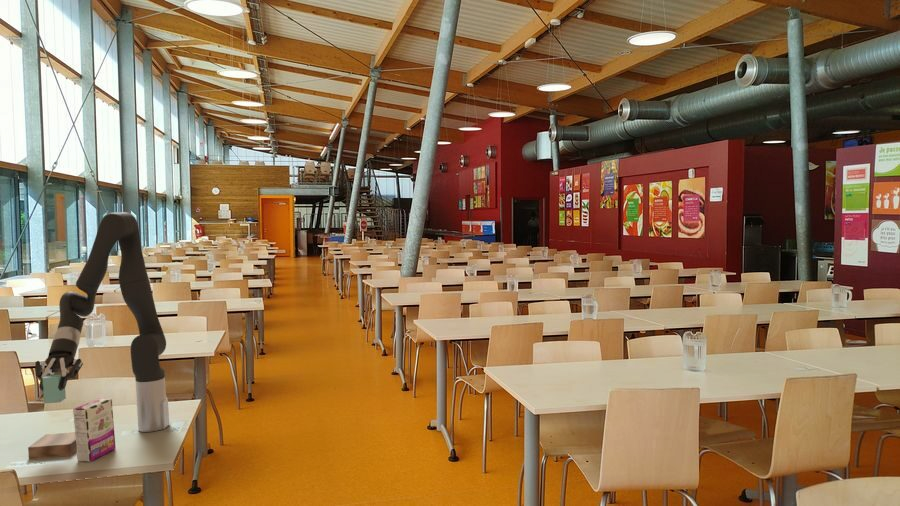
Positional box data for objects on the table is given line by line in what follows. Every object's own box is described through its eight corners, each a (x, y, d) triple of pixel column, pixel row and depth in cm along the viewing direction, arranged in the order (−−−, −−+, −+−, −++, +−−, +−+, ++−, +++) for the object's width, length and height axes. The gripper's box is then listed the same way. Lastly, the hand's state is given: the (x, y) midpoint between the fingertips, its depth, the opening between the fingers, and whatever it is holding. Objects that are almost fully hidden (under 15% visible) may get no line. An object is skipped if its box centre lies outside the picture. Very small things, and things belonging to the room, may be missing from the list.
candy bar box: (102, 448, 210) (99, 397, 208) (116, 449, 209) (113, 398, 207) (75, 461, 199) (72, 408, 198) (90, 462, 198) (86, 408, 197)
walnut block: (86, 443, 216) (85, 431, 216) (71, 456, 204) (70, 444, 204) (46, 446, 214) (45, 434, 214) (29, 460, 202) (28, 447, 202)
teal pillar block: (65, 398, 211) (64, 373, 210) (59, 402, 206) (57, 377, 206) (50, 399, 210) (48, 374, 210) (44, 403, 206) (42, 378, 205)
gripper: (37, 338, 213) (21, 385, 202) (84, 336, 216) (72, 382, 204) (45, 351, 219) (31, 397, 208) (92, 348, 221) (80, 394, 210)
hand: (51, 389), depth 206 cm, fingers closed on teal pillar block, 4 cm apart
